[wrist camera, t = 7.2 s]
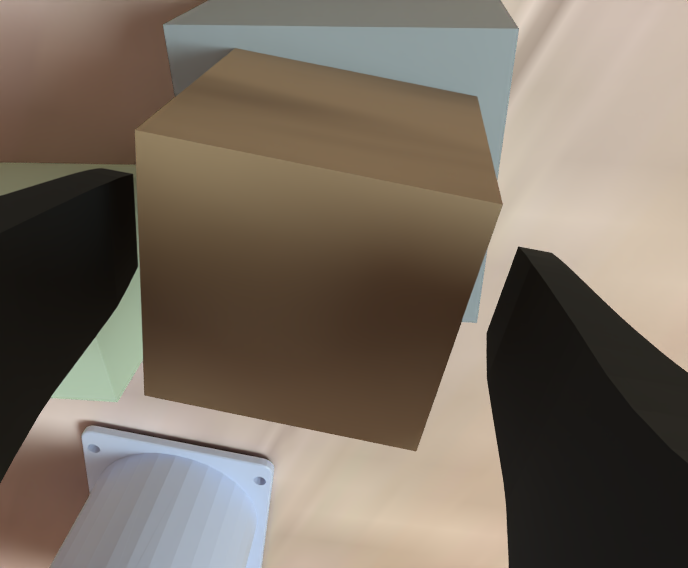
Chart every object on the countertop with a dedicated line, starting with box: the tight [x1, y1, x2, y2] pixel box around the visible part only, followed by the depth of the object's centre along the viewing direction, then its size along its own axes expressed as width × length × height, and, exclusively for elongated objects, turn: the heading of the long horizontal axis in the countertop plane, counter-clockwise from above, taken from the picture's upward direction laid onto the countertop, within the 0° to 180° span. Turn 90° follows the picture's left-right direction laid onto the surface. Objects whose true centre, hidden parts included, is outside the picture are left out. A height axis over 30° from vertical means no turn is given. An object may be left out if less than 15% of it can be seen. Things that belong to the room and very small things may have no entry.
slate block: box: [163, 0, 519, 323], centre depth 15 cm, size 7×7×4 cm
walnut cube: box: [135, 48, 503, 451], centre depth 11 cm, size 5×5×5 cm
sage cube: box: [0, 162, 143, 402], centre depth 18 cm, size 5×5×5 cm
